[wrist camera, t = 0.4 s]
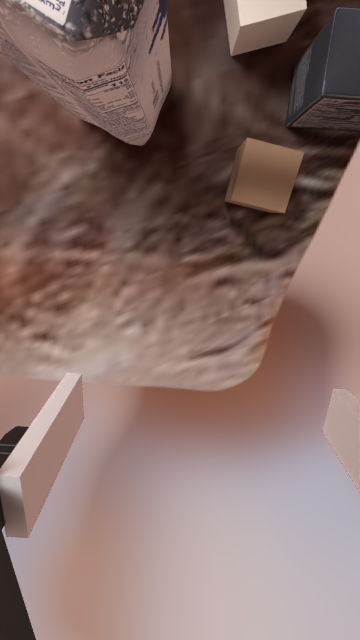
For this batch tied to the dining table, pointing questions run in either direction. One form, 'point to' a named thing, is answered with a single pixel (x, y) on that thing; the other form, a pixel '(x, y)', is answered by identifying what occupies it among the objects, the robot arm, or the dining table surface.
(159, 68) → the juice carton
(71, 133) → the dining table surface
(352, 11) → the small box
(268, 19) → the cream block
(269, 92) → the dining table surface
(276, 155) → the walnut block
